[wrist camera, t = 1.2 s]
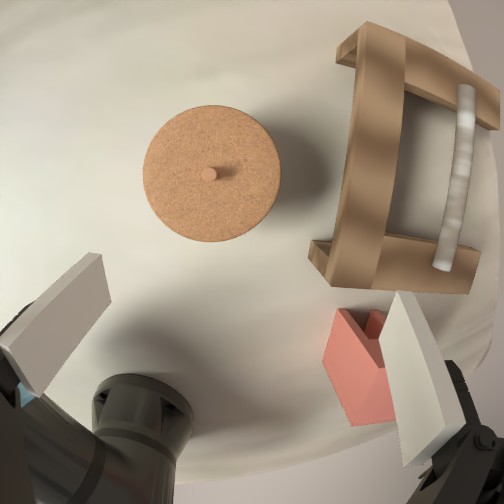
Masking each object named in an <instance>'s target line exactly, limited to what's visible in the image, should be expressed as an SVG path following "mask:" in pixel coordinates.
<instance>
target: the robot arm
mask: <svg viewBox="0 0 504 504" xmlns="http://www.w3.org/2000/svg"><path fill="white" fill-rule="evenodd" d="M110 304H111V298H110V294H109V289H108V285H107V280H106V276H105V271H104V266H103V261H102V256H101V254H96V253H90V252H89V253H88V254H86V255H85V256H84V257H83V258H82V259H81V260H79V261H78V262H77V263H76V264H75V265H74V266H73V267H71V268H70V269H69V270H68V271H67V272H66V273H65V274H64V275H62V276H61V277H60V278H59V279H58V280H57V281H56V282H55V283H54V284H53V285H51V286H50V287H49V288H48V289H47V290H46V291H45V292H44V293H43V294H42V295H41V296H40V297H39V298H38V299H37V300H36V301H34V302H32V303H30V304H28V305H27V306H25V307H24V308H23V309H22V310H21V311H20V312H19V313H18V315H16V316H15V317H14V318H13V319H12V321H10V322H9V323H8V324H7V325H6V326H5V327H4V328H3V330H2V331H1V332H0V504H173V496H174V482H175V469H176V461H177V459H178V457H179V455H180V454H181V452H182V450H183V449H184V447H185V445H186V443H187V442H188V440H189V438H190V436H191V433H192V428H193V413H192V410H191V408H190V406H189V404H188V403H187V401H186V400H185V399H184V398H183V397H182V396H181V395H180V394H179V393H178V392H176V391H175V390H174V389H172V388H171V387H169V386H167V385H165V384H163V383H161V382H159V381H157V380H154V379H151V378H148V377H144V376H139V375H131V374H123V375H116V376H112V377H110V378H107V379H106V380H104V381H103V382H102V383H101V384H100V385H99V386H98V388H97V390H96V393H95V395H94V397H93V401H92V432H91V431H89V430H88V429H87V428H85V427H84V426H83V425H81V424H80V423H79V422H77V421H76V420H75V419H74V418H72V417H71V416H70V415H69V414H67V413H66V412H65V411H64V410H63V409H61V408H60V407H59V406H58V405H57V404H56V403H54V402H53V401H52V400H51V399H50V398H49V397H48V396H47V395H45V394H44V393H43V392H44V391H45V389H46V388H47V386H48V385H49V384H50V382H51V381H52V379H53V378H54V377H55V375H56V374H57V372H58V371H59V370H60V368H61V367H62V365H63V364H64V363H65V361H66V360H67V359H68V357H69V356H70V355H71V353H72V352H73V351H74V349H75V348H76V347H77V345H78V344H79V343H80V341H81V340H82V339H83V338H84V336H85V335H86V334H87V332H88V331H89V330H90V329H91V327H92V326H93V325H94V323H95V322H96V321H97V320H98V318H99V317H100V316H101V315H102V313H103V312H104V311H105V310H106V308H107V307H108V306H109V305H110ZM379 343H380V347H381V351H382V355H383V359H384V363H385V368H386V372H387V377H388V381H389V386H390V390H391V395H392V400H393V405H394V411H395V416H396V422H397V427H398V433H399V439H400V446H401V452H402V460H403V466H404V467H413V466H419V465H423V464H424V463H426V462H427V461H428V460H429V459H430V458H432V464H433V465H432V466H431V467H430V468H429V469H428V470H426V471H425V472H424V473H422V474H421V475H420V477H419V479H421V478H423V477H424V478H423V479H422V481H421V483H420V484H419V486H418V487H417V489H416V490H415V492H414V493H413V495H412V496H411V498H410V499H409V500H408V502H407V503H406V504H504V438H498V437H497V436H496V435H495V433H494V431H493V430H492V429H490V428H489V427H487V426H484V425H481V423H480V420H479V417H478V414H477V411H476V409H475V406H474V403H473V400H472V398H471V395H470V392H468V387H467V385H466V383H465V380H464V377H463V375H462V372H461V370H460V369H459V368H458V366H457V365H456V364H455V363H454V362H453V361H452V360H443V357H442V355H441V352H440V350H439V348H438V345H437V343H436V341H435V338H434V336H433V334H432V332H431V329H430V327H429V325H428V323H427V321H426V318H425V316H424V314H423V312H422V310H421V308H420V306H419V304H418V302H417V300H416V298H415V296H414V294H413V292H412V291H401V290H397V291H396V294H395V297H394V300H393V302H392V305H391V308H390V311H389V313H388V316H387V319H386V321H385V324H384V326H383V329H382V331H381V334H380V336H379ZM500 488H501V490H500Z"/></svg>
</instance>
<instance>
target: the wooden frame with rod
mask: <svg viewBox="0 0 504 504" xmlns="http://www.w3.org/2000/svg"><path fill="white" fill-rule="evenodd" d="M336 63H338V64H342V65H345V66H349V67H352V68H355V69H356V74H355V86H354V96H353V106H352V115H351V124H350V132H349V140H348V148H347V155H346V162H345V169H344V176H343V182H342V188H341V194H340V200H339V206H338V212H337V218H336V223H335V228H334V234H333V239H332V243H330V242H322V241H313V240H311V244H310V250H309V255H308V258H309V260H310V261H311V262H312V263H313V265H314V266H315V267H316V268H317V270H318V271H319V272H320V273H321V275H322V276H323V277H324V278H325V280H326V281H327V282H328V283H329V285H330V286H331V287H343V288H358V289H373V290H390V291H397V290H401V291H412V292H428V293H450V294H469V292H470V289H471V286H472V283H473V279H474V276H475V273H476V270H477V266H478V263H479V259H480V255H481V252H480V251H478V250H475V249H473V248H471V247H467V246H462V245H457V243H458V239H459V235H460V231H461V226H462V221H463V216H464V211H465V206H466V200H467V195H468V188H469V182H470V174H471V166H472V157H473V147H474V134H475V123H476V124H478V125H480V126H481V127H483V128H485V129H487V130H499V129H500V91H499V90H498V89H497V88H495V87H494V86H493V85H491V84H490V83H488V82H487V81H485V80H484V79H482V78H481V77H479V76H478V75H476V74H475V73H473V72H472V71H470V70H468V69H467V68H465V67H463V66H462V65H460V64H458V63H457V62H455V61H453V60H451V59H450V58H448V57H446V56H444V55H442V54H440V53H439V52H437V51H435V50H433V49H431V48H429V47H427V46H425V45H423V44H421V43H419V42H417V41H415V40H412V39H410V38H408V37H406V36H403V35H401V34H399V33H397V32H394V31H392V30H389V29H387V28H384V27H382V26H379V25H377V24H374V23H371V22H368V21H366V22H365V23H364V24H363V25H362V26H361V27H360V28H358V29H357V30H356V31H355V32H354V33H353V34H352V35H351V36H349V37H348V38H347V39H346V40H345V41H344V42H343V43H342V44H341V45H339V46H338V47H337V54H336ZM404 90H406V91H408V92H411V93H413V94H416V95H418V96H420V97H423V98H425V99H427V100H430V101H432V102H434V103H436V104H438V105H441V106H443V107H445V108H447V109H449V110H451V111H453V112H455V113H457V115H456V131H455V143H454V153H453V162H452V170H451V177H450V184H449V190H448V196H447V202H446V207H445V213H444V218H443V222H442V227H441V232H440V236H439V240H438V241H434V240H428V239H423V238H417V237H411V236H405V235H399V234H393V233H386V232H385V229H386V224H387V219H388V214H389V209H390V204H391V198H392V193H393V187H394V180H395V174H396V167H397V160H398V152H399V144H400V135H401V126H402V115H403V102H404Z"/></svg>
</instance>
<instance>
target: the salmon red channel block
mask: <svg viewBox="0 0 504 504" xmlns="http://www.w3.org/2000/svg"><path fill="white" fill-rule="evenodd" d="M385 321H386V318H385V316H384V315H383V314H382V313H381V312H380V311H379V310H371V312H370V315H369V318H368V321H367V324H366V327H365V331H364V332H363V331H362V330H361V328H360V327H359V326H358V324H357V323H356V322H355V320H354V319H353V318H352V316H351V315H350V314H349V312H348V311H347V310H346V309H337V312H336V315H335V319H334V323H333V326H332V330H331V333H330V337H329V340H328V344H327V347H326V350H325V354H324V357H323V360H322V363H323V365H324V367H325V369H326V371H327V374H328V376H329V378H330V380H331V382H332V384H333V387H334V389H335V391H336V393H337V396H338V398H339V400H340V402H341V404H342V407H343V409H344V411H345V413H346V416H347V418H348V420H349V422H350V424H351V427H353V426H361V425H368V424H374V423H381V422H387V421H392V420H396V416H395V411H394V405H393V400H392V395H391V390H390V386H389V381H388V377H387V372H386V368H385V363H384V359H383V355H382V351H381V347H380V343H379V336H380V334H381V331H382V329H383V326H384V324H385Z"/></svg>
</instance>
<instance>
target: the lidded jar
mask: <svg viewBox="0 0 504 504" xmlns="http://www.w3.org/2000/svg"><path fill="white" fill-rule="evenodd" d="M280 183H281V164H280V158H279V154H278V151H277V148H276V146H275V144H274V141H273V140H272V138H271V136H270V135H269V133H268V132H267V131H266V130H265V128H264V127H263V126H262V125H261V124H260V123H259V122H257V121H256V120H255V119H254V118H252V117H251V116H249V115H247V114H246V113H244V112H242V111H239V110H237V109H234V108H231V107H225V106H218V105H208V106H200V107H196V108H192V109H189V110H186V111H184V112H182V113H180V114H178V115H176V116H175V117H174V118H172V119H171V120H169V121H168V122H167V123H166V124H165V125H164V126H163V127H162V128H161V129H160V130H159V131H158V133H157V134H156V135H155V137H154V138H153V140H152V142H151V143H150V145H149V147H148V150H147V153H146V156H145V160H144V165H143V184H144V190H145V193H146V197H147V200H148V202H149V204H150V206H151V208H152V210H153V211H154V212H155V214H156V215H157V217H158V218H159V219H160V220H161V221H162V222H163V223H164V224H165V225H166V226H167V227H169V228H170V229H171V230H173V231H174V232H176V233H178V234H180V235H182V236H183V237H186V238H189V239H192V240H197V241H202V242H219V241H226V240H229V239H233V238H236V237H238V236H240V235H243V234H245V233H246V232H248V231H249V230H251V229H252V228H254V227H255V226H256V225H257V224H258V223H260V222H261V221H262V220H263V218H264V217H265V216H266V215H267V214H268V212H269V211H270V209H271V207H272V206H273V204H274V202H275V200H276V197H277V195H278V192H279V187H280Z"/></svg>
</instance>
